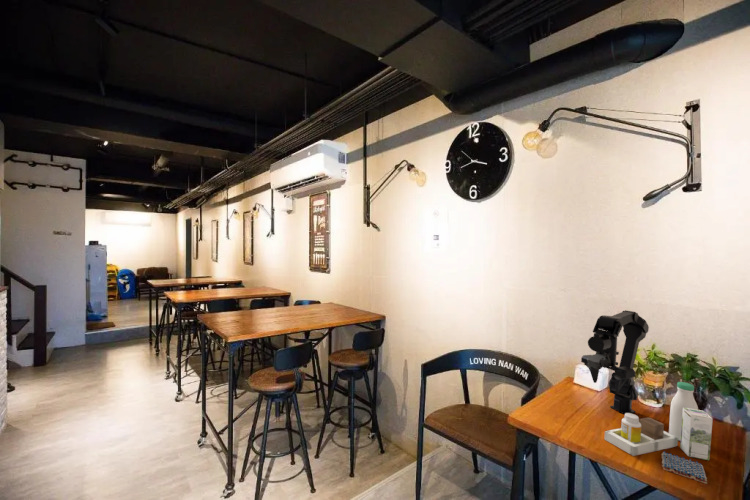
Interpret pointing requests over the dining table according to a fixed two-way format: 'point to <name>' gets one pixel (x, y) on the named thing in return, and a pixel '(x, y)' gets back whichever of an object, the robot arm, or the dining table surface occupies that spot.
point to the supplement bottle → (631, 428)
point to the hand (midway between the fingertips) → (605, 387)
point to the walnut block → (652, 428)
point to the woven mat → (683, 467)
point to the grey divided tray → (645, 444)
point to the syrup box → (696, 433)
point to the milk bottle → (680, 407)
